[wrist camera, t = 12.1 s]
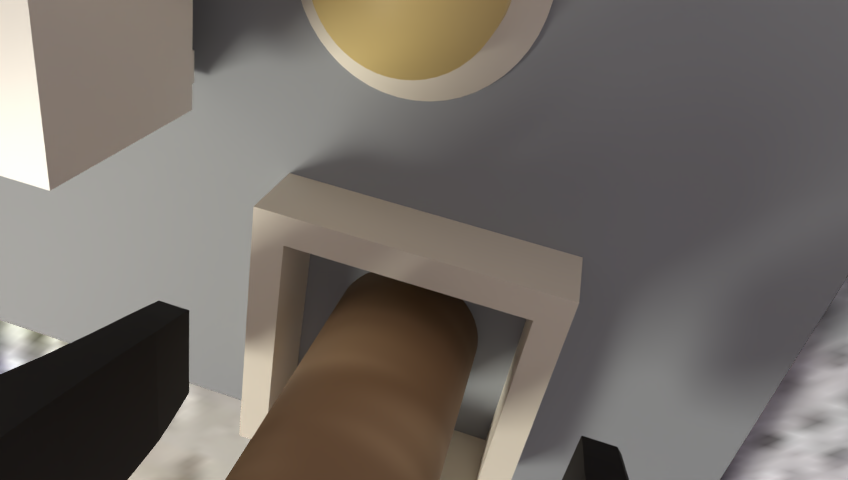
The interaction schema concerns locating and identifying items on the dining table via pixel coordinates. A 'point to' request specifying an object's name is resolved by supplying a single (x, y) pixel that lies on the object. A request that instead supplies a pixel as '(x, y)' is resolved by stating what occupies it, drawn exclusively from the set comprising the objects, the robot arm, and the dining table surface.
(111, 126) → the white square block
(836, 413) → the dining table surface
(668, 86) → the board
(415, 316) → the peg
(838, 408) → the dining table surface
